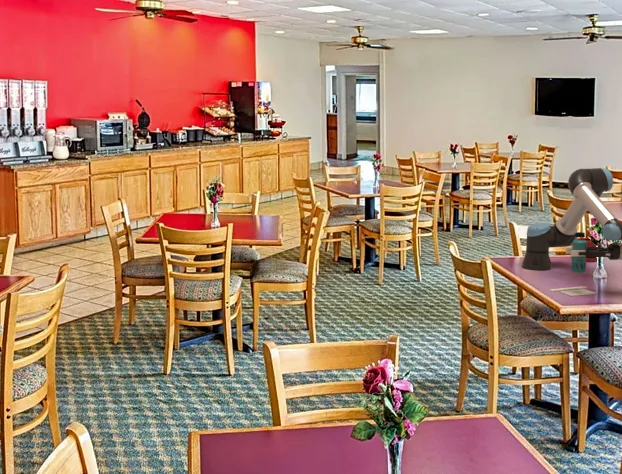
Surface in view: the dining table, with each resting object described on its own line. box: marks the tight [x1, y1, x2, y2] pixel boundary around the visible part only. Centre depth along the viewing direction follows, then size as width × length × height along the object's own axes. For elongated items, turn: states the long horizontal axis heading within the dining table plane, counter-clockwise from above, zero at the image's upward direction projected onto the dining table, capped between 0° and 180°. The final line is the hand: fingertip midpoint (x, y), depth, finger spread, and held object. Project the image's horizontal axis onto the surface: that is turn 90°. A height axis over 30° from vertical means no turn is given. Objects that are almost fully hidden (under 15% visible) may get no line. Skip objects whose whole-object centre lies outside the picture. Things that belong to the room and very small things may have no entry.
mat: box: [559, 288, 597, 297], centre depth 371 cm, size 8×14×1 cm, turn 110°
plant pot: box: [577, 237, 598, 263], centre depth 443 cm, size 13×13×12 cm
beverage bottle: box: [570, 231, 587, 274], centre depth 368 cm, size 6×7×20 cm
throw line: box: [548, 285, 588, 293], centre depth 377 cm, size 2×20×1 cm, turn 110°
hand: (568, 252), depth 368 cm, fingers closed on beverage bottle, 6 cm apart
